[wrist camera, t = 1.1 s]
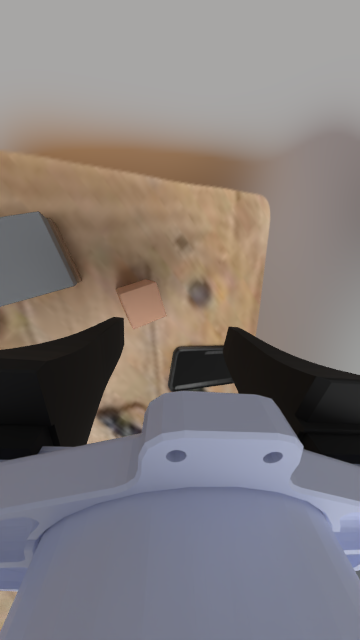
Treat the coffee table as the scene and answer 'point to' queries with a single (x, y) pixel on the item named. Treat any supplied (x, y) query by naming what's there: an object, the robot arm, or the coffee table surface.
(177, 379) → the phone
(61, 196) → the coffee table surface
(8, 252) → the charcoal slab
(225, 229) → the coffee table surface
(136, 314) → the terracotta block
